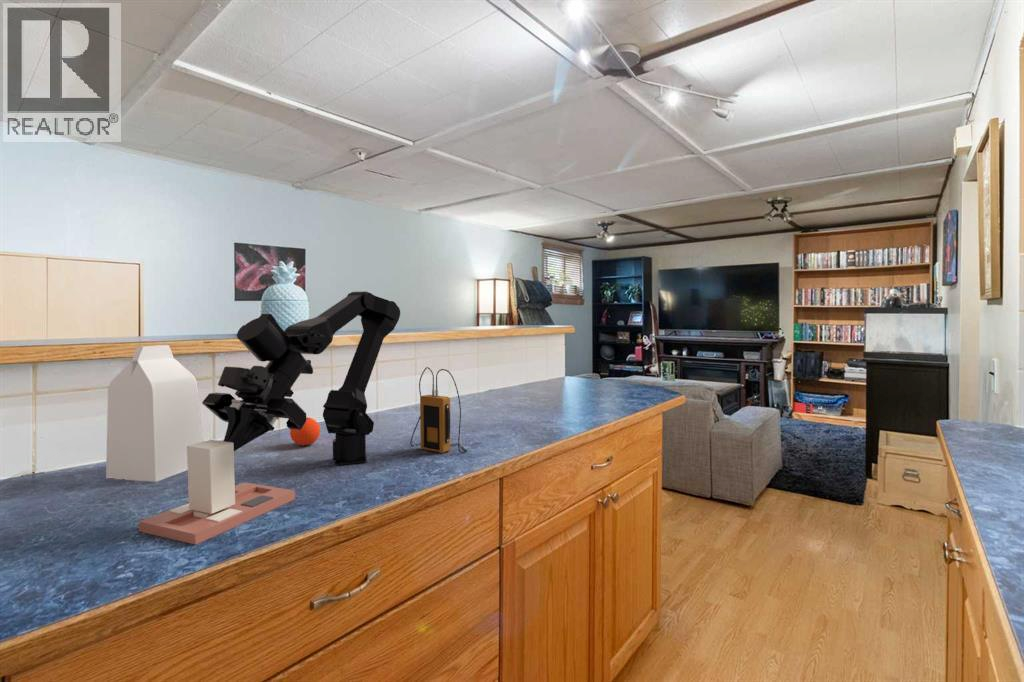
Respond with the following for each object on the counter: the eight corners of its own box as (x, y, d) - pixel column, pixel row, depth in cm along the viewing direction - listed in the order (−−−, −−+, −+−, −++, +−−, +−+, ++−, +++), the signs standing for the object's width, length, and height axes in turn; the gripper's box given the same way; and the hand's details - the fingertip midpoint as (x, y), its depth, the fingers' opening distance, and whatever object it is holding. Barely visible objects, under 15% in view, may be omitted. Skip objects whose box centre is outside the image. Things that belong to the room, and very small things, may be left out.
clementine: (286, 451, 114) (286, 421, 114) (284, 444, 120) (283, 416, 120) (322, 446, 118) (321, 418, 118) (318, 440, 124) (318, 413, 124)
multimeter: (481, 446, 118) (480, 366, 117) (455, 456, 110) (454, 369, 108) (436, 438, 126) (435, 362, 125) (408, 447, 117) (407, 366, 116)
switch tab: (213, 505, 79) (211, 439, 78) (235, 510, 77) (233, 442, 76) (189, 515, 75) (186, 445, 74) (212, 520, 73) (209, 449, 73)
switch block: (244, 490, 88) (244, 481, 88) (295, 499, 84) (295, 489, 84) (139, 531, 71) (138, 520, 71) (195, 544, 67) (195, 533, 67)
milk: (155, 481, 93) (150, 348, 91) (106, 478, 95) (100, 347, 93) (205, 463, 105) (201, 344, 103) (160, 460, 107) (156, 343, 105)
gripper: (211, 347, 85) (147, 421, 75) (292, 350, 78) (233, 431, 69) (250, 385, 93) (196, 457, 83) (327, 391, 86) (279, 469, 76)
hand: (224, 453), depth 77 cm, fingers closed, pressing on switch tab
